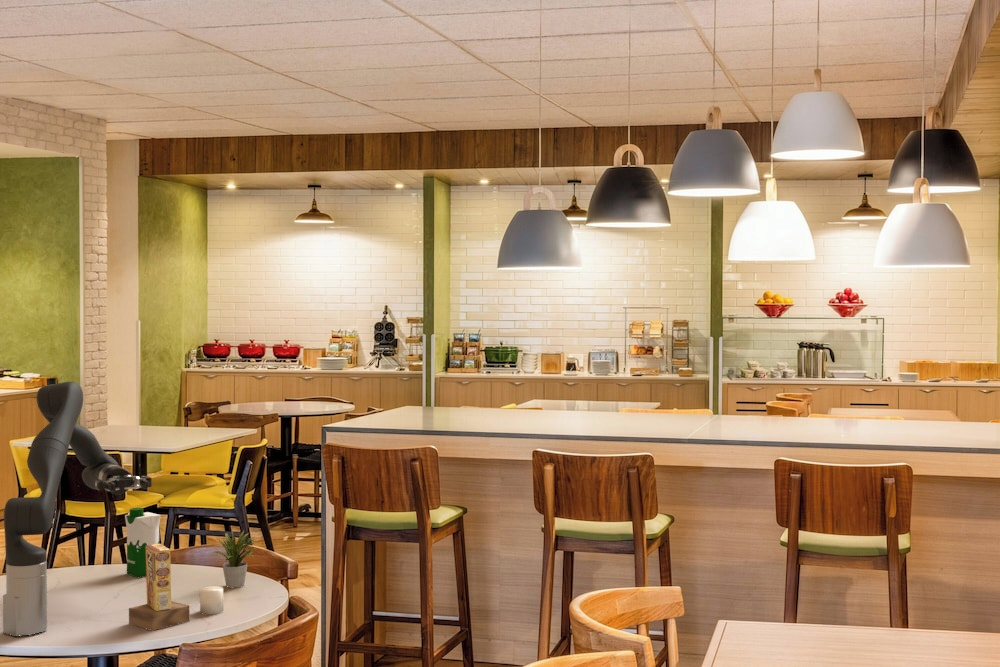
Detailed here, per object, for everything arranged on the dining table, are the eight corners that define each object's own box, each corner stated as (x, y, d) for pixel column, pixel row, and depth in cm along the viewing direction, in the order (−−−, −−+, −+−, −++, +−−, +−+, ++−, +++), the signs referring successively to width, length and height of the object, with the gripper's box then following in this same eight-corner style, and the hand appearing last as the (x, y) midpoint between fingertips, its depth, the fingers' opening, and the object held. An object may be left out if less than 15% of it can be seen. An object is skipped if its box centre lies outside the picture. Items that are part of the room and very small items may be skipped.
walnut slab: (153, 630, 281) (152, 614, 281) (128, 623, 287) (128, 608, 287) (189, 621, 290) (189, 605, 290) (165, 614, 296) (165, 599, 296)
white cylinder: (210, 615, 295) (210, 592, 295) (195, 612, 299) (195, 589, 298) (228, 610, 300) (228, 588, 300) (212, 607, 303) (212, 585, 303)
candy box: (172, 609, 286) (171, 549, 286) (155, 611, 284) (154, 551, 283) (161, 602, 293) (161, 543, 293) (145, 604, 291) (144, 544, 291)
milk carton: (122, 574, 342) (121, 508, 341) (149, 569, 348) (149, 504, 348) (137, 578, 336) (136, 511, 335) (164, 573, 342) (164, 507, 342)
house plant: (254, 593, 319) (253, 535, 319) (205, 592, 319) (205, 535, 319) (265, 581, 333) (265, 525, 333) (218, 580, 333) (218, 525, 333)
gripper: (88, 467, 315) (103, 474, 302) (140, 464, 323) (156, 470, 310) (88, 494, 316) (103, 502, 302) (140, 490, 323) (156, 498, 310)
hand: (130, 486), depth 306 cm, fingers open, 8 cm apart
